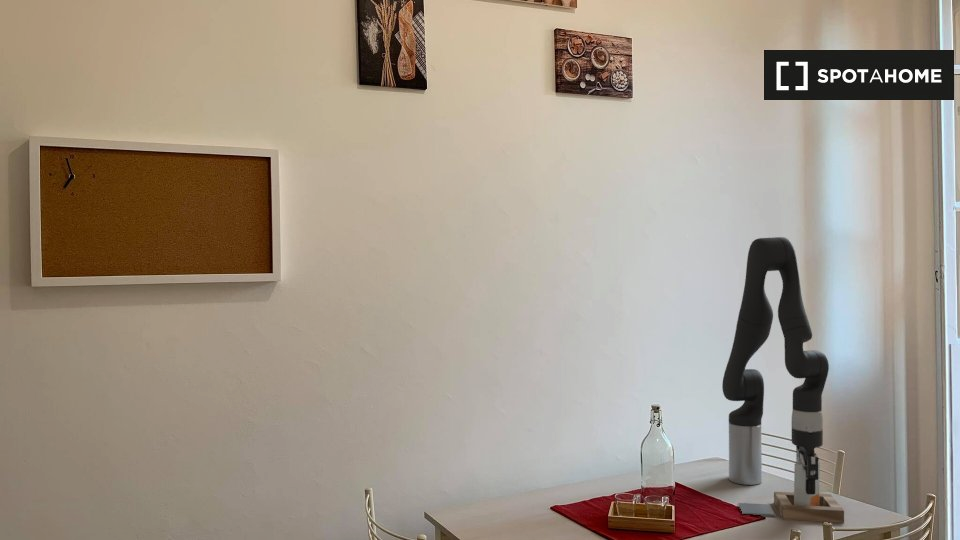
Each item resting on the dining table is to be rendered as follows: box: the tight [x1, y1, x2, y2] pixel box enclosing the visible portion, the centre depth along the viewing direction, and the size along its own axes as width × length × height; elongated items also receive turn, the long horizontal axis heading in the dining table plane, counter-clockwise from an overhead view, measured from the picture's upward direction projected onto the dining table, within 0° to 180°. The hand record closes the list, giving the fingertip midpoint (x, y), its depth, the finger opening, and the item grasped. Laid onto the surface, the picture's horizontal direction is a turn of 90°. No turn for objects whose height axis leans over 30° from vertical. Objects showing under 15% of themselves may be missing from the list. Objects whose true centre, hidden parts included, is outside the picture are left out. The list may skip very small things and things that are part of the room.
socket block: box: [773, 491, 845, 523], centre depth 201 cm, size 13×14×3 cm
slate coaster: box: [737, 502, 776, 518], centre depth 203 cm, size 8×8×1 cm
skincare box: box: [793, 461, 821, 506], centre depth 201 cm, size 6×4×12 cm
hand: (806, 489), depth 201 cm, fingers closed on skincare box, 7 cm apart
